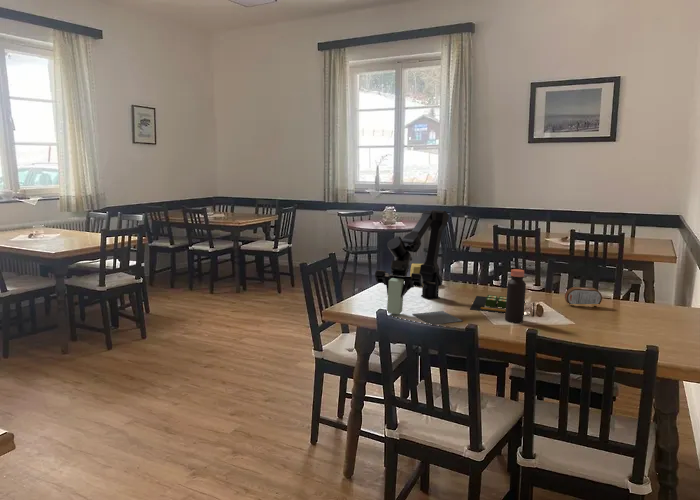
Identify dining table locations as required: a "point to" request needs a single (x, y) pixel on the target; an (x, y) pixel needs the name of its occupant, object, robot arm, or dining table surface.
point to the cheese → (415, 269)
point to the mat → (437, 317)
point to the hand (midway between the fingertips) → (394, 296)
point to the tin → (583, 296)
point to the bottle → (515, 297)
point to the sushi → (489, 303)
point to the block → (395, 296)
